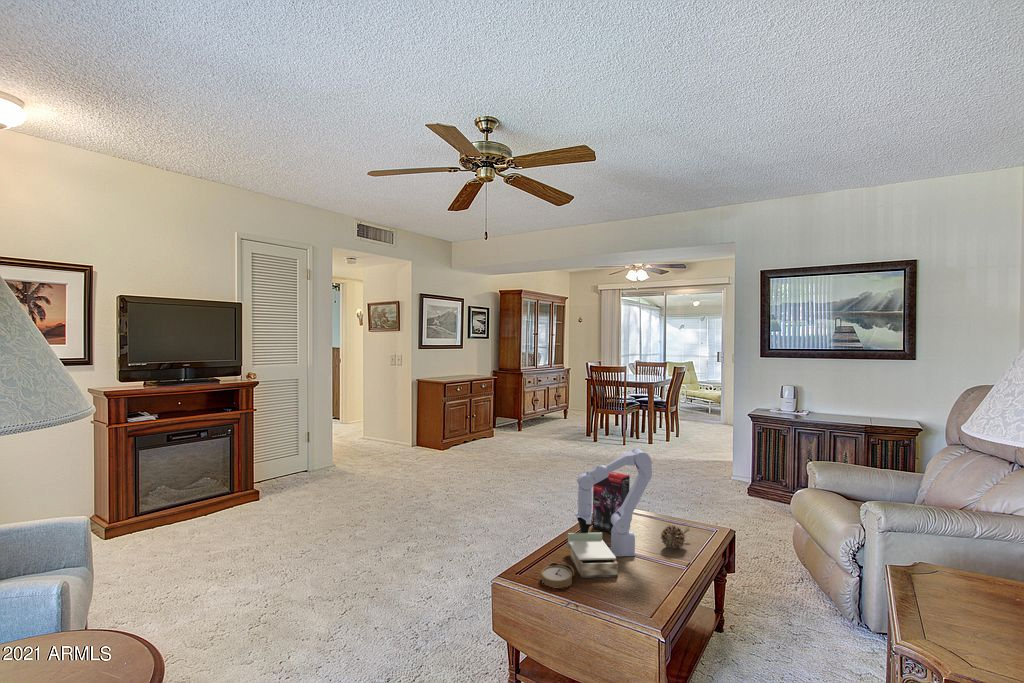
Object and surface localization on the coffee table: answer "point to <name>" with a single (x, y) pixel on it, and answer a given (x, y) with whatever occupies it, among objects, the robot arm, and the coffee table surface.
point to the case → (594, 567)
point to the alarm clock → (557, 575)
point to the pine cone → (673, 536)
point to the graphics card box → (608, 499)
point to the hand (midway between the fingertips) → (584, 535)
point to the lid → (589, 546)
